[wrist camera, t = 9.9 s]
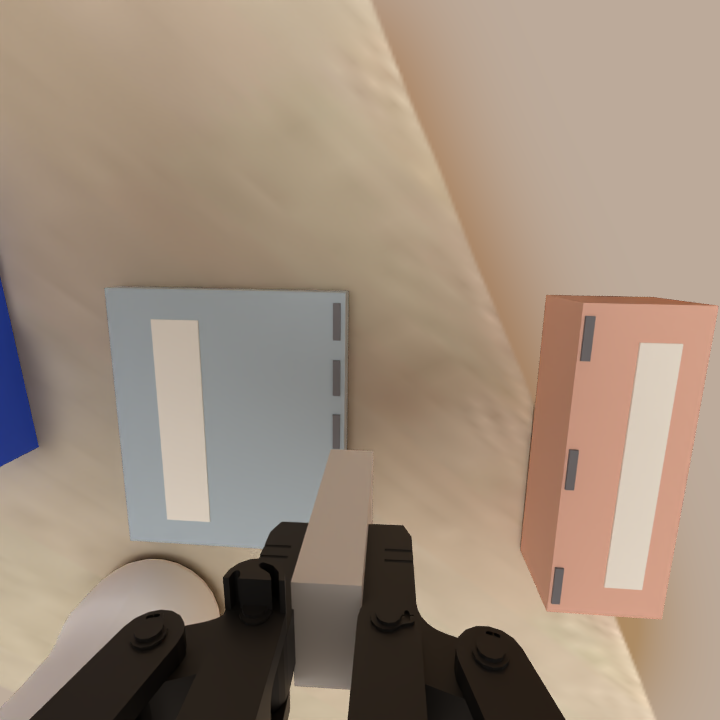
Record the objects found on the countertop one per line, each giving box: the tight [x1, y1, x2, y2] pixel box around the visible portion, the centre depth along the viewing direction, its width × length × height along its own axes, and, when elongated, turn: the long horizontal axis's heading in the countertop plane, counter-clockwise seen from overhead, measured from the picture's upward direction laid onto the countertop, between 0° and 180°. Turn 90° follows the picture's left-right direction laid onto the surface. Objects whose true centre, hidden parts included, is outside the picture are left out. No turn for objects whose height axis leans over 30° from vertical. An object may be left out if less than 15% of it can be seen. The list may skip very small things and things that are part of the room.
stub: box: [521, 295, 718, 619], centre depth 21 cm, size 14×5×5 cm, turn 179°
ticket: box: [104, 286, 349, 549], centre depth 24 cm, size 14×12×2 cm
